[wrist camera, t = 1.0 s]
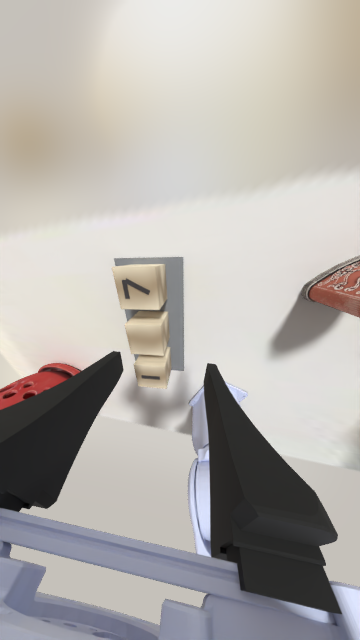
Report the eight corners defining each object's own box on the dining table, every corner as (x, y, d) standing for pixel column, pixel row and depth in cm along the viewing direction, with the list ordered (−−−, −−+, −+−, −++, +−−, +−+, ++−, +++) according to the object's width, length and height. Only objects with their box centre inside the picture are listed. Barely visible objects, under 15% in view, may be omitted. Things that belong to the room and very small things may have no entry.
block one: (171, 366, 24) (166, 389, 20) (147, 365, 25) (138, 386, 21) (170, 347, 22) (164, 367, 18) (144, 345, 23) (133, 365, 19)
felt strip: (183, 369, 25) (183, 370, 24) (137, 365, 26) (137, 367, 25) (183, 257, 17) (182, 257, 16) (115, 258, 18) (113, 258, 17)
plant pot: (90, 359, 27) (17, 429, 16) (102, 400, 32) (55, 472, 22) (31, 351, 27) (-76, 412, 17) (53, 392, 33) (-16, 457, 23)
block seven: (167, 298, 19) (159, 310, 15) (136, 298, 19) (120, 309, 15) (165, 264, 17) (155, 266, 13) (131, 264, 17) (111, 266, 13)
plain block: (169, 337, 22) (163, 355, 17) (143, 335, 22) (131, 353, 18) (168, 311, 20) (160, 325, 16) (139, 310, 20) (124, 324, 16)
